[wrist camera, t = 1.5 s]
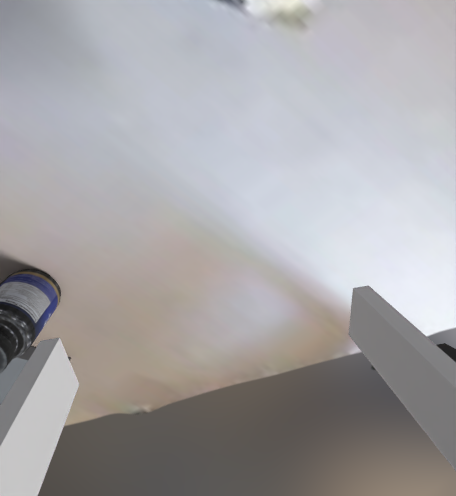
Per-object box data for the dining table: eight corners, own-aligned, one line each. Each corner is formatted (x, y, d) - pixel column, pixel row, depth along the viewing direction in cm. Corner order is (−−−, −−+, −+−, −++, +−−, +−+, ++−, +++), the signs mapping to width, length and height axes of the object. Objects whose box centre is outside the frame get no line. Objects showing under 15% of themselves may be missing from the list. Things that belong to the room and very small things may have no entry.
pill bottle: (35, 321, 36) (-21, 397, 26) (-8, 287, 34) (-88, 357, 24) (74, 294, 36) (32, 362, 26) (33, 257, 33) (-31, 316, 23)
